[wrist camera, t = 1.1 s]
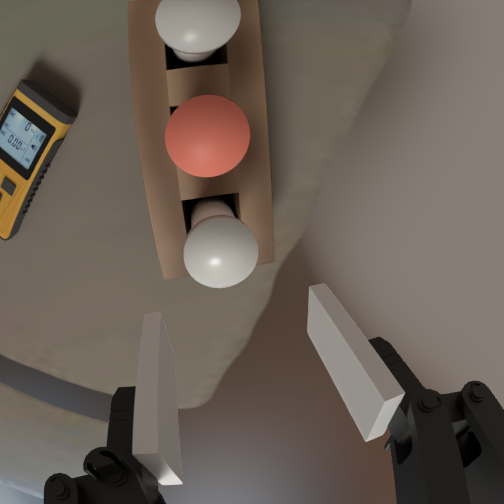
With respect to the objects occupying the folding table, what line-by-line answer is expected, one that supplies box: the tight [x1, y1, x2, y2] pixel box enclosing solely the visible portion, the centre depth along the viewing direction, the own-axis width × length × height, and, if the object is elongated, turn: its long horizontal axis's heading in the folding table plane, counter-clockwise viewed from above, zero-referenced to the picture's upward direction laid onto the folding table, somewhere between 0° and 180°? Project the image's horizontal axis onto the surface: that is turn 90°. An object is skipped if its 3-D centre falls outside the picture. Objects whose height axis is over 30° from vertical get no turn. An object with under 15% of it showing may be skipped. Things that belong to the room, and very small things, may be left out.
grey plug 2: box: [184, 197, 258, 288], centre depth 22 cm, size 5×5×8 cm
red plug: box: [165, 95, 250, 177], centre depth 19 cm, size 5×5×8 cm
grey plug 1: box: [155, 0, 241, 64], centre depth 16 cm, size 5×5×8 cm
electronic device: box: [0, 80, 77, 240], centre depth 22 cm, size 8×16×3 cm, turn 137°
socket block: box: [128, 0, 275, 280], centre depth 24 cm, size 10×24×6 cm, turn 3°
